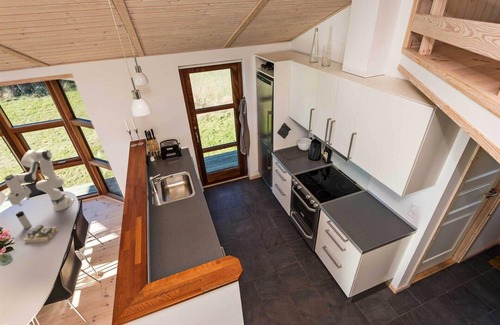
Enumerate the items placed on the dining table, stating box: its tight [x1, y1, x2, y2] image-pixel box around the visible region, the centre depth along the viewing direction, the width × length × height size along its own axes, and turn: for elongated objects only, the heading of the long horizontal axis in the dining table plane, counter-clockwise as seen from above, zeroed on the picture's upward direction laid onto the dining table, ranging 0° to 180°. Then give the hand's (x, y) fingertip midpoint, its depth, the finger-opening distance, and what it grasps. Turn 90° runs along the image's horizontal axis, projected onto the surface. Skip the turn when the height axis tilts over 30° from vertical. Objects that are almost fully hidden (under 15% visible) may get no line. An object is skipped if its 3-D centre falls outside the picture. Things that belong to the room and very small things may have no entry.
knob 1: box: [26, 227, 35, 236], centre depth 249 cm, size 8×5×7 cm, turn 3°
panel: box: [23, 226, 58, 243], centre depth 250 cm, size 16×22×4 cm
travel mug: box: [15, 210, 33, 230], centre depth 258 cm, size 6×7×20 cm
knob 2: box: [33, 224, 44, 234], centre depth 248 cm, size 8×5×7 cm, turn 3°
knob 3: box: [41, 228, 52, 236], centre depth 250 cm, size 8×5×7 cm, turn 3°
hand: (24, 202), depth 237 cm, fingers open, 8 cm apart
